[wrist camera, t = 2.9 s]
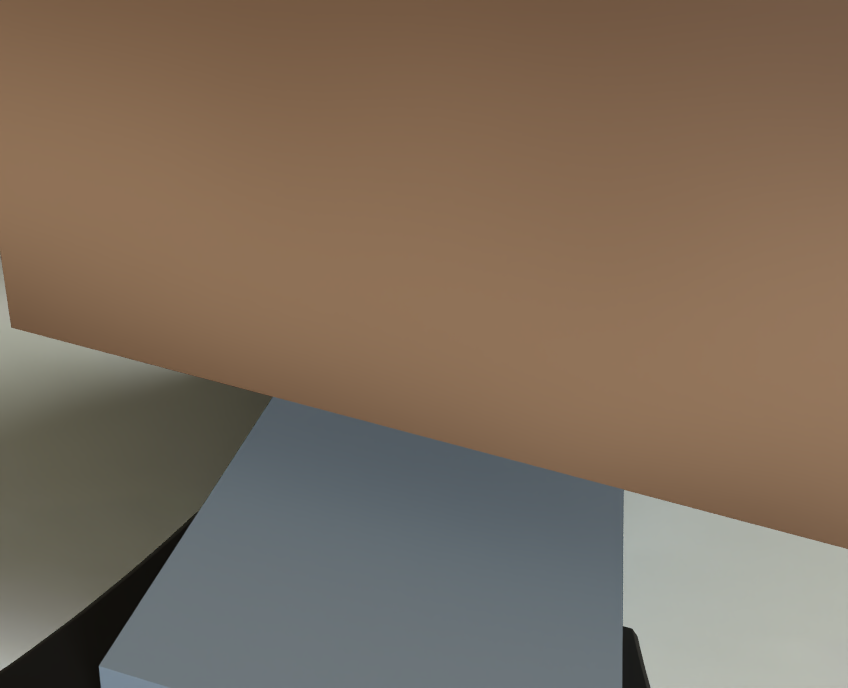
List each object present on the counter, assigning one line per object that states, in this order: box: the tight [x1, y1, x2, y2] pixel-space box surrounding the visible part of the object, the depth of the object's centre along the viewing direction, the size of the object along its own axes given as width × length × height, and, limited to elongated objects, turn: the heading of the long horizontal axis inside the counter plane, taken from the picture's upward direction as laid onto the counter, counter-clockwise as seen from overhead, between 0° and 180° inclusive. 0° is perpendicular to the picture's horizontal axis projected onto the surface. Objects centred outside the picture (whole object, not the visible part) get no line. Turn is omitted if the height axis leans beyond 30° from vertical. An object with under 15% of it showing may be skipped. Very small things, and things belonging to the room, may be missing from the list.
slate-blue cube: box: [99, 397, 624, 688], centre depth 11 cm, size 5×5×5 cm
